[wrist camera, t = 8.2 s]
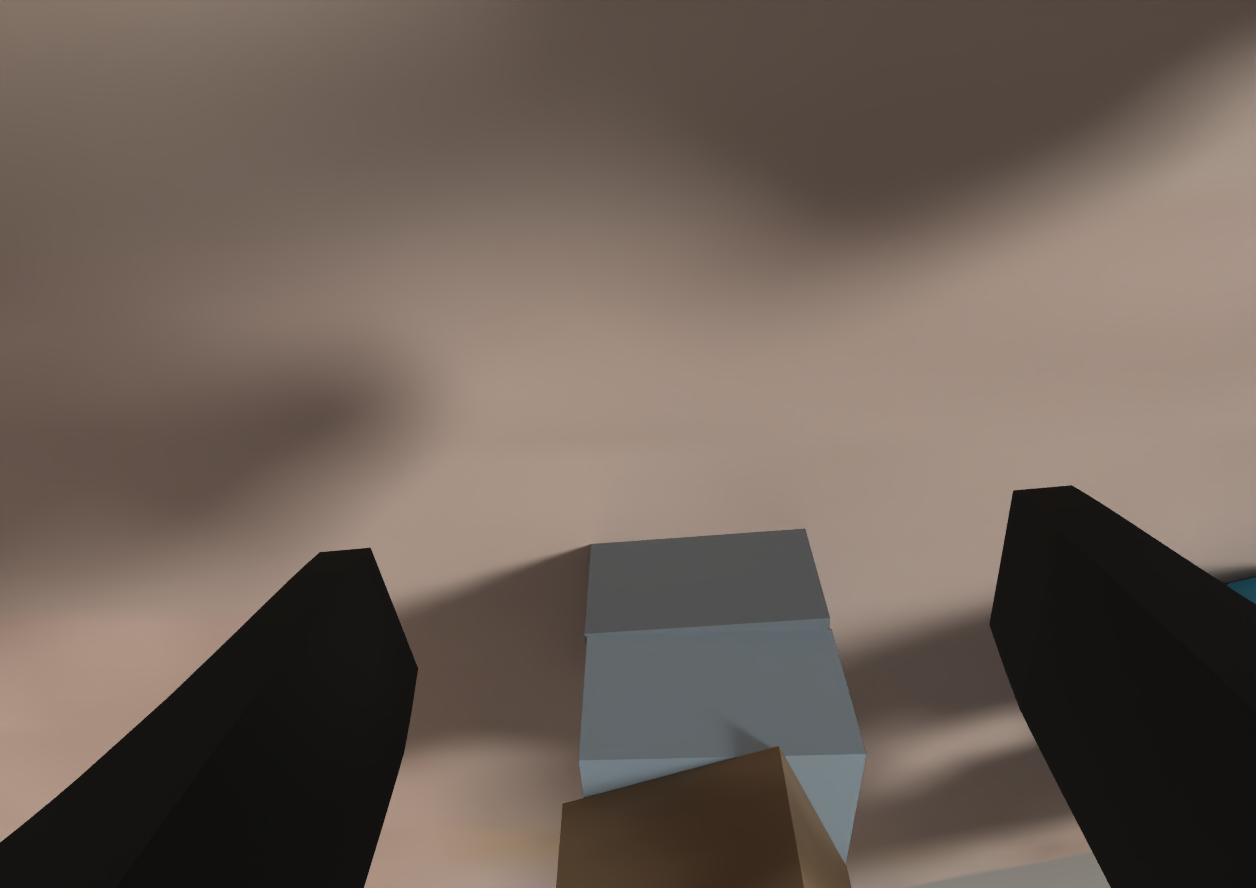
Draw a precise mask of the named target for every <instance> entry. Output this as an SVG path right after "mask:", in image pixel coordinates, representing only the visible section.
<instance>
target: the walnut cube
mask: <svg viewBox="0 0 1256 888" xmlns="http://www.w3.org/2000/svg"><path fill="white" fill-rule="evenodd" d="M556 888H851V884H850V880H849V875H848V871H847V866H846V865H845V863H844V861H843V859H842V858H841V856H840V854H839V852H838V850H837V849H836V847H835V845H834V843H833V841H832V840H831V838H830V836H829V834H828V832H827V831H826V829H825V827H824V825H823V823H822V822H821V820H820V818H819V816H818V815H817V813H816V811H815V809H814V807H813V806H812V804H811V802H810V800H809V799H808V797H807V795H806V793H805V791H804V790H803V788H802V786H801V784H800V782H799V781H798V779H797V777H796V775H795V774H794V772H793V770H792V768H791V766H790V765H789V763H788V761H787V759H786V757H785V756H784V754H783V752H782V750H781V749H780V747H779V746H777V747H773V748H769V749H765V750H762V751H758V752H754V753H751V754H747V755H743V756H739V757H736V758H732V759H728V760H724V761H721V762H717V763H713V764H710V765H706V766H702V767H698V768H695V769H691V770H687V771H683V772H680V773H676V774H672V775H669V776H665V777H661V778H657V779H654V780H650V781H646V782H642V783H639V784H635V785H631V786H628V787H624V788H620V789H616V790H613V791H609V792H605V793H601V794H598V795H594V796H590V797H587V798H583V799H579V800H575V801H572V802H568V803H564V804H563V808H562V821H561V833H560V846H559V858H558V871H557V884H556Z"/></svg>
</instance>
